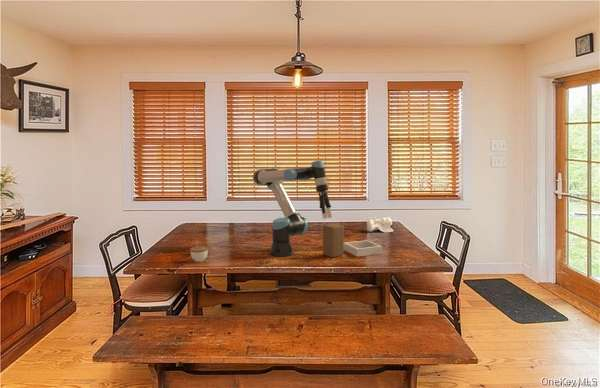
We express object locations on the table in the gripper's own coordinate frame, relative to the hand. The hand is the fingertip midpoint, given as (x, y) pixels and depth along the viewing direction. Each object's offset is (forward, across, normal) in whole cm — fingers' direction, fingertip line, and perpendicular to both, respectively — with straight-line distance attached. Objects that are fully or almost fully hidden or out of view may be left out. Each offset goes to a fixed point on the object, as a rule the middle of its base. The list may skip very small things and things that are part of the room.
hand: (327, 218), depth 252 cm
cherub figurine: (+18, +96, -21) cm, 100 cm away
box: (+26, +26, -14) cm, 40 cm away
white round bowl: (+12, -21, +82) cm, 85 cm away
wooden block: (+25, +13, +4) cm, 28 cm away
